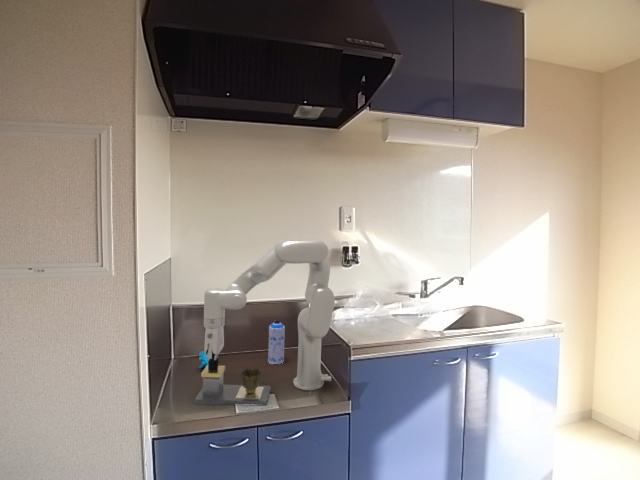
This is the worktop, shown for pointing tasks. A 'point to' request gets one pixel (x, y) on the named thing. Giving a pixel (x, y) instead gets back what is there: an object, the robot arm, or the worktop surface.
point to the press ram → (213, 372)
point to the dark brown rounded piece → (251, 379)
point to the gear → (203, 359)
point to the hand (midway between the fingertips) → (213, 369)
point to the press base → (230, 393)
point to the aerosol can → (276, 343)
